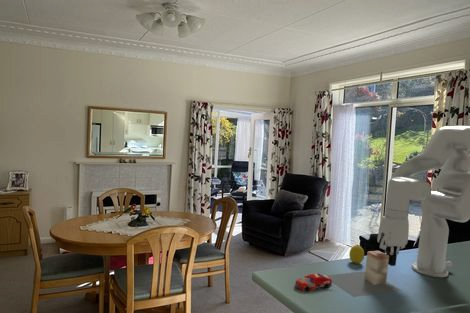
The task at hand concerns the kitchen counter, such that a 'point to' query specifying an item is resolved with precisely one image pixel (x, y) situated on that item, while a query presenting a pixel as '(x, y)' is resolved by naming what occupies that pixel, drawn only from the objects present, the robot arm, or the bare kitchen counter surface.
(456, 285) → the kitchen counter surface
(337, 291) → the kitchen counter surface
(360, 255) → the lemon
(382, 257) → the wooden block
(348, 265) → the kitchen counter surface
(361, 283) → the rubber mat
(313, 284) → the race car
